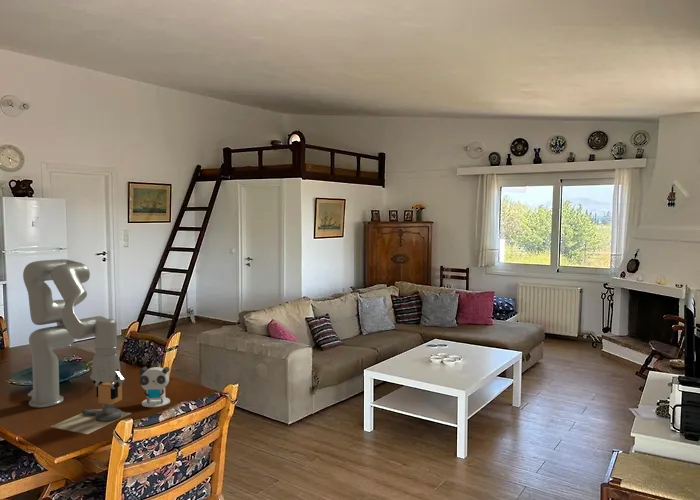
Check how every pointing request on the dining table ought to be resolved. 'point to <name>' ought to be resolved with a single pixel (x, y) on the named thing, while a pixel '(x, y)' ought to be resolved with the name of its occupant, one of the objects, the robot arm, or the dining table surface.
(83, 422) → the board
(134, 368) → the dining table surface
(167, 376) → the panda figurine
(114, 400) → the tan wooden cube
